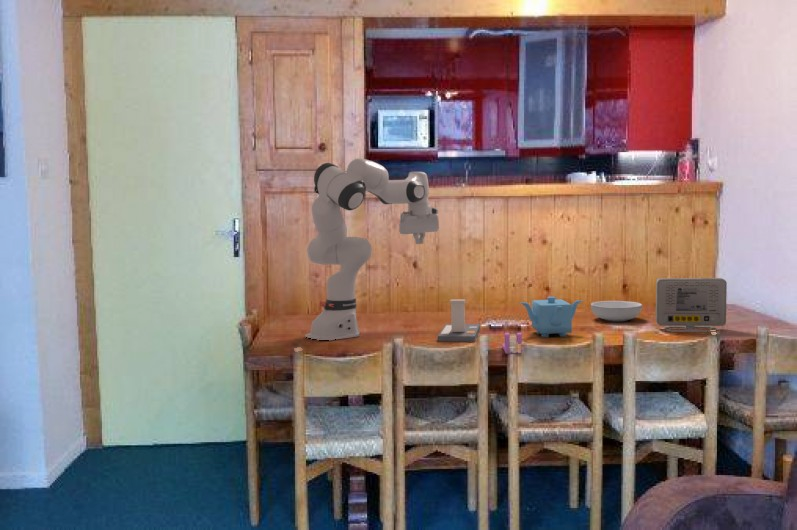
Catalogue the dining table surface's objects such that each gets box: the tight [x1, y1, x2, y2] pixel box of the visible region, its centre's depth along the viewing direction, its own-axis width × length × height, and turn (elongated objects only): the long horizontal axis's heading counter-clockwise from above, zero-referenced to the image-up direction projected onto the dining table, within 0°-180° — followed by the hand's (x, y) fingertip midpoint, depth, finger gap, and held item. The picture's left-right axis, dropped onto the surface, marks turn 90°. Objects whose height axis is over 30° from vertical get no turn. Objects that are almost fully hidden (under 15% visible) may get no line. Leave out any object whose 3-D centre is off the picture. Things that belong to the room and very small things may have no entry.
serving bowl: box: [590, 300, 643, 323], centre depth 347 cm, size 21×21×7 cm
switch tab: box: [449, 298, 466, 332], centre depth 317 cm, size 3×6×12 cm, turn 80°
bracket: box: [502, 332, 523, 355], centre depth 293 cm, size 13×6×7 cm, turn 179°
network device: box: [655, 277, 728, 333], centre depth 320 cm, size 26×9×20 cm, turn 80°
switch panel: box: [437, 323, 481, 343], centre depth 323 cm, size 26×14×2 cm, turn 170°
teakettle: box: [520, 296, 584, 338], centre depth 317 cm, size 19×19×15 cm
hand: (419, 243), depth 344 cm, fingers closed
